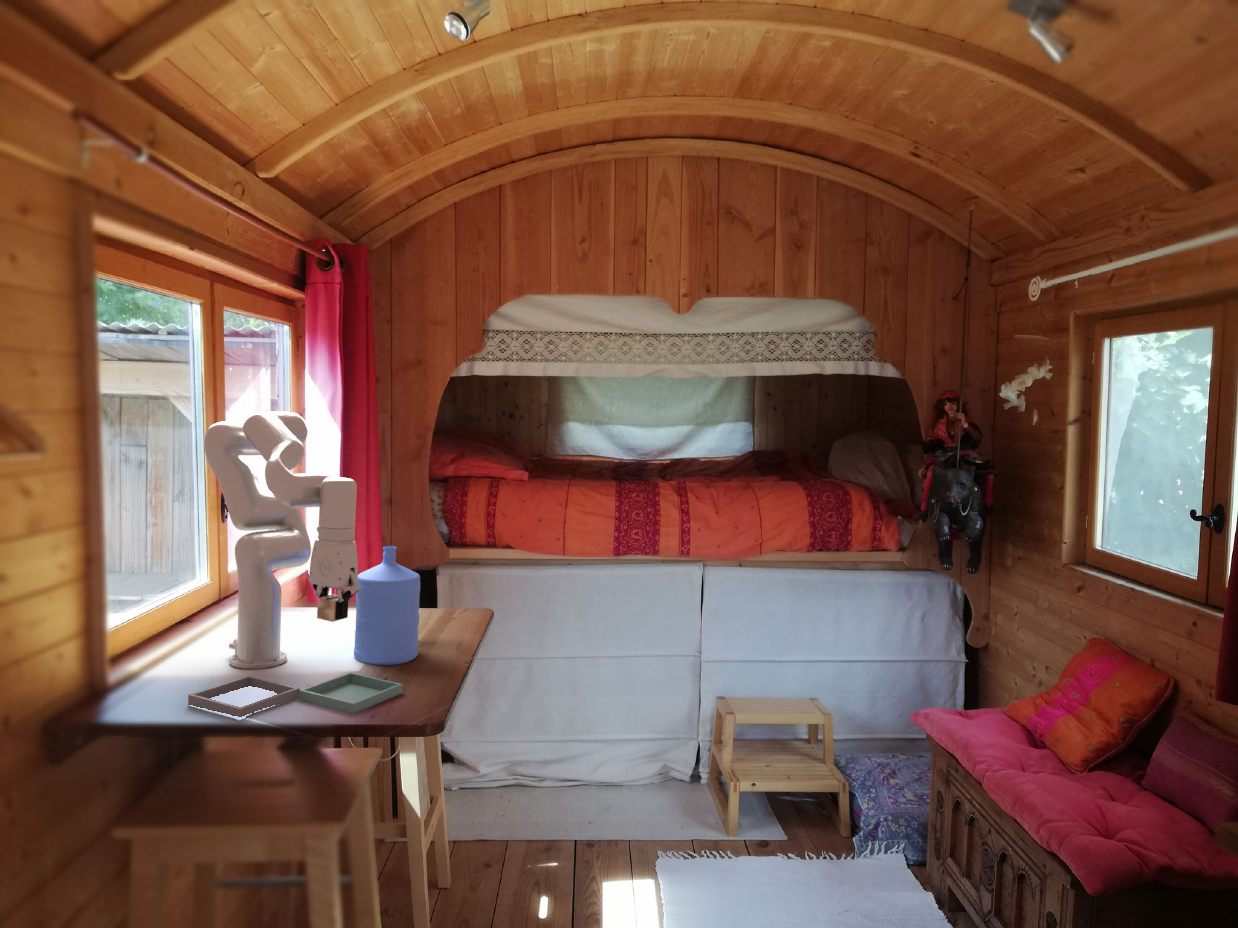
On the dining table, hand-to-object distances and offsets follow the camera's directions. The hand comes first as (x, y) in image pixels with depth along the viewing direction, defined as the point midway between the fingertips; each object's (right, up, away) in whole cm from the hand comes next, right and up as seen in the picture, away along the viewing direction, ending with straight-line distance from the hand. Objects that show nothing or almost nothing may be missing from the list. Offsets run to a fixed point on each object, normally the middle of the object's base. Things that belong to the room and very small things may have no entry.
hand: (332, 615), depth 183 cm
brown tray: (-15, -17, -9) cm, 24 cm away
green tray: (+5, -17, -4) cm, 18 cm away
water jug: (+4, -16, +27) cm, 31 cm away
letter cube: (0, -1, 0) cm, 1 cm away
